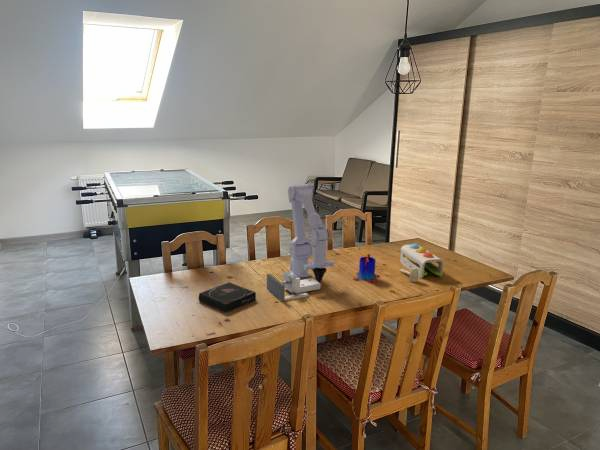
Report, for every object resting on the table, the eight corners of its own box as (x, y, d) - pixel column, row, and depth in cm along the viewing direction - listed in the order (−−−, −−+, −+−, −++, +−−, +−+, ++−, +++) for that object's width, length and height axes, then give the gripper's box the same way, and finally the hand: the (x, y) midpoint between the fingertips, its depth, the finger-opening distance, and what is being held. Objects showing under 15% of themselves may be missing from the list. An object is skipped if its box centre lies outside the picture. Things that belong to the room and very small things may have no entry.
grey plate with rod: (266, 288, 205) (266, 274, 204) (292, 284, 211) (293, 269, 209) (281, 301, 193) (281, 285, 191) (308, 296, 198) (308, 281, 197)
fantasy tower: (376, 284, 214) (378, 259, 211) (351, 280, 218) (353, 256, 215) (380, 275, 225) (382, 252, 222) (357, 272, 228) (358, 249, 225)
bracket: (294, 295, 199) (294, 279, 198) (287, 289, 206) (287, 274, 204) (320, 290, 205) (320, 274, 203) (312, 285, 211) (313, 269, 210)
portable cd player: (228, 290, 204) (228, 281, 203) (255, 301, 193) (255, 292, 192) (198, 301, 192) (198, 292, 191) (226, 314, 181) (225, 304, 180)
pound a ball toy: (387, 263, 243) (388, 242, 239) (419, 261, 247) (421, 240, 244) (411, 283, 216) (413, 259, 213) (447, 281, 220) (449, 257, 217)
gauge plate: (279, 286, 205) (279, 272, 203) (286, 285, 206) (286, 271, 204) (290, 296, 195) (291, 281, 193) (297, 294, 196) (298, 279, 195)
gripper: (309, 259, 198) (308, 288, 202) (338, 254, 205) (336, 283, 208) (301, 254, 204) (301, 283, 208) (329, 250, 211) (328, 278, 214)
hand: (318, 282), depth 209 cm, fingers closed
